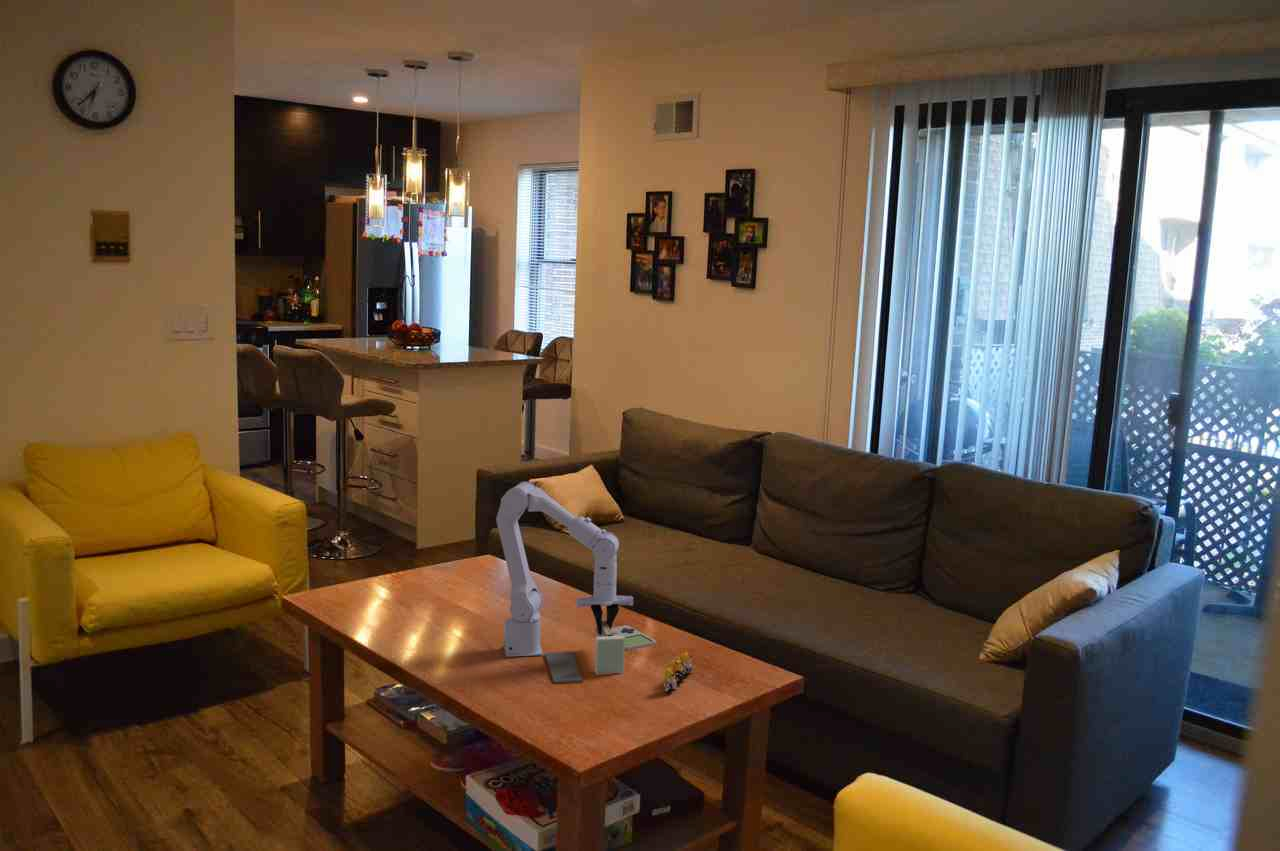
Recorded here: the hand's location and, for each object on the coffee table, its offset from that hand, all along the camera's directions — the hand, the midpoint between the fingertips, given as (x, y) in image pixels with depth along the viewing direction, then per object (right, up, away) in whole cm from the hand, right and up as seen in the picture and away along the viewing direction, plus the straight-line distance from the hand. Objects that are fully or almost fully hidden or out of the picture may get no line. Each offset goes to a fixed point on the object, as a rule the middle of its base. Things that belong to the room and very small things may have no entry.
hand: (603, 632), depth 267 cm
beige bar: (0, -2, 0) cm, 2 cm away
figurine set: (+18, -10, -14) cm, 25 cm away
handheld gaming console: (+6, -6, +16) cm, 18 cm away
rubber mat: (-10, -8, -6) cm, 14 cm away
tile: (+2, -8, -8) cm, 11 cm away
